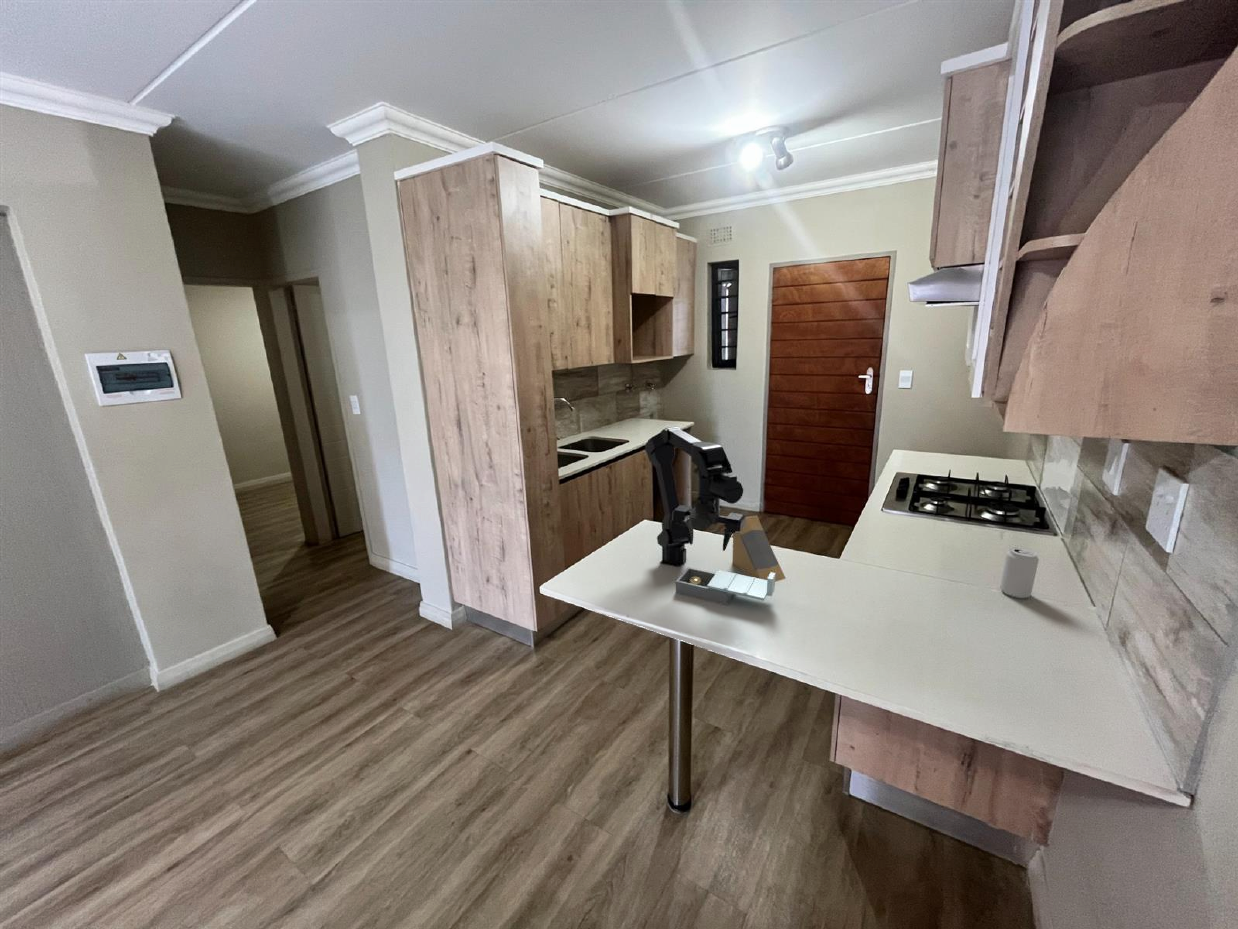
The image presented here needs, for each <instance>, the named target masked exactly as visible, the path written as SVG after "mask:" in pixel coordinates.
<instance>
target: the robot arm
mask: <svg viewBox="0 0 1238 929" xmlns="http://www.w3.org/2000/svg"><path fill="white" fill-rule="evenodd" d="M644 446H645V447H644V450H645V452H646V454H647V458H648V461H649V462H650V463H651V464H652V465H653V467H655V470H656V471H655V472H656V477H657V480H658V485H659V492H660V497H661V501H662V507H663V510H664V517H663V520H662V521H661V532H660V533H659V534H657V537H656V540H657V544H658V545H659V546H661V560H660V562H659V564H662V565H667V566H671V567H676V568H679V567H680V568H681V566H683V565H684V564H685V563H686V562H687V549H686V545H691V546H692V545H693V543H694V529H695V528H699V529H702V530H707V529H708V530H709V528H710V526H712V525H717V524H724V527H725V528H724V529H723V533H724V534H723V541H722V542H723V543H722V552H724V551H726V550H727V549H726V548H727V546H728V544H729V543H730V539H731V537H732V536H733V533H736V532H737V531H741V529H742V528H743V527H744V525H745V523H746V518H745V517H746V516H745V515H744V514H742V513H737V512H735V513H734V512H730V513H729V514H728V515H727V516H726V515H720V513H721V508H720V503H721V502H720V500H721V501H724V502H726V503H728V504H732V505H733V504H734V505H735V504H737V503H738V502H739V501H740V500H741V499H742V496H743V494H744V487H743V484H742V483H741V482H740V481H738V476H737V475H734V474H732V473H733V469H732V464H731V463H730V461H729V459H728V457H727V454H726V451H725V450H724V447H723V446H722V445H721V444H717V443H714V442H709V441H708V442H707V441H706V442H705V441H703V440H700V439H698V438H696V437H695V436H692V435H691V434H690V433H688V432H686V431H684V430H683V429H682V428H680V427H678V426H673V427H665V428H664V429H662V430H661V431H659V433H657V434H655V435H653V436H651V437H650V438H649V439H647V441H646V443H645V445H644ZM676 448H677V449H679V450H681V451H682V452H683V453H685V454H687V455H688V456H690V458H691V463H693V465H695V466H696V468H695V469H693V473H694V474H697V497H696V498H695V504H694V507H692V506H689V505H681V504H680V499H679V494H678V491H677V490H678V488H677V485H676V479H675V473H674V470H673V469H674V468H673V465H672V464H673V463H674V459H675V457H676V456H675V455H676V450H675V449H676Z"/></svg>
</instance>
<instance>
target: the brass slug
mask: <svg viewBox="0 0 1238 929" xmlns="http://www.w3.org/2000/svg"><path fill="white" fill-rule="evenodd" d="M690 583H691V584H695V585H700V586H701V579H700V578H699V577H691V578H690Z"/></svg>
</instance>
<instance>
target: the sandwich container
mask: <svg viewBox="0 0 1238 929" xmlns="http://www.w3.org/2000/svg"><path fill="white" fill-rule="evenodd" d="M745 518H746V523H745V525H744V527H743V528H742V529H741V531H737V532H736V533H732V564H733V565H734V566H735V567H737V568H738V569H740V570H741V571H742V572H744V573H745V574H746V575H747V576H749V577H755V578H759V579H763V580H767V579H768V576H769V574H770V572H773V573H776V574H775V583H776V582H779V581H782V580H786V575H785V573H784V572H783V568H782V567H781V565H780V563H779V561H778V559H777V557H776V555H775V553H774V549H773V547H772V546H771V544H770V542H769V539H768V537H767V535H766V533H765V531H764V528H763V526H762V524H761V522H760V519H759V516H758V515H750V516H745Z"/></svg>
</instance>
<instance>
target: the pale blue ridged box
mask: <svg viewBox="0 0 1238 929" xmlns="http://www.w3.org/2000/svg"><path fill="white" fill-rule="evenodd" d="M715 573H716V574H715V576H714V577H713V578H712V580H711V581H710V582H709V584H708V585H707V588H710V589H714V590H719V591H723V592H727V593H732V594H733V595H736V596H741V597H746V598H750V599H754V600H758V601H762V602H765V600H766V598H767V596H768V597H772V596H773V594H774V592H775V588H776V582H775V574H776V573H773V572H770V574H769V576H768V579H767V580H763V579H759V578H755V577H751V576H750V575H744V574H739V573H736V572H730V571H724V570H720V569H719V570H717V571H716V572H715Z"/></svg>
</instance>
